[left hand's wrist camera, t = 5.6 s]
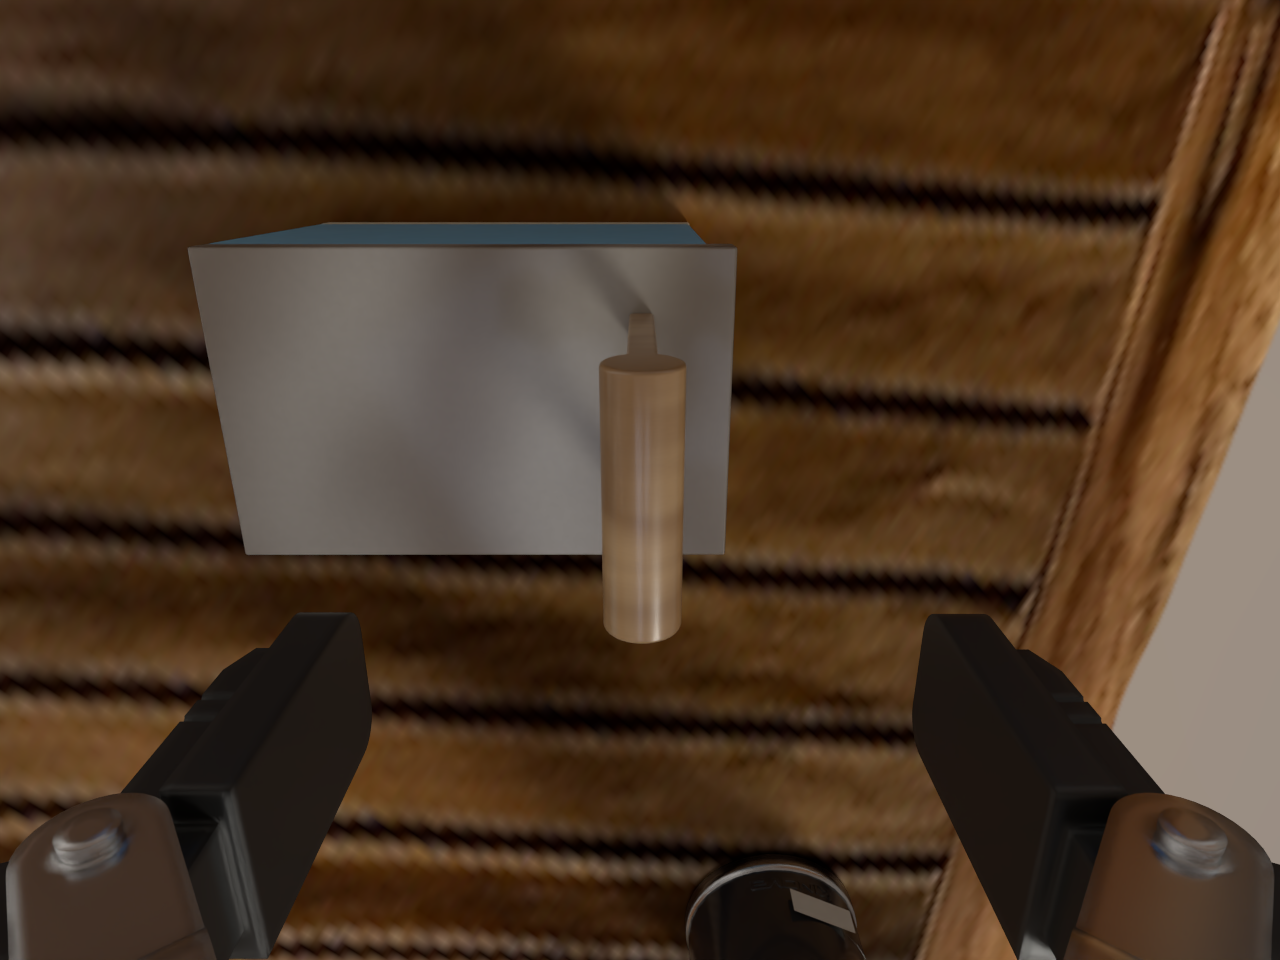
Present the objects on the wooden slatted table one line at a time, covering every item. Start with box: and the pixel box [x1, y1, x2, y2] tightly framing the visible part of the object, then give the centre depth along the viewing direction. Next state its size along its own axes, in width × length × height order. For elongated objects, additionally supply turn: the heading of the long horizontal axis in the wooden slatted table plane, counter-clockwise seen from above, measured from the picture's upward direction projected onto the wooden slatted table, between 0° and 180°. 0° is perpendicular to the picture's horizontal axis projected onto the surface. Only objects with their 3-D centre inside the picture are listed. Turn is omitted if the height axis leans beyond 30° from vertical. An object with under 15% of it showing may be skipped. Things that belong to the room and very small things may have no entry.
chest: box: [210, 222, 705, 244], centre depth 30 cm, size 14×9×10 cm, turn 90°
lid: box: [188, 244, 737, 644], centre depth 21 cm, size 15×9×9 cm, turn 90°
